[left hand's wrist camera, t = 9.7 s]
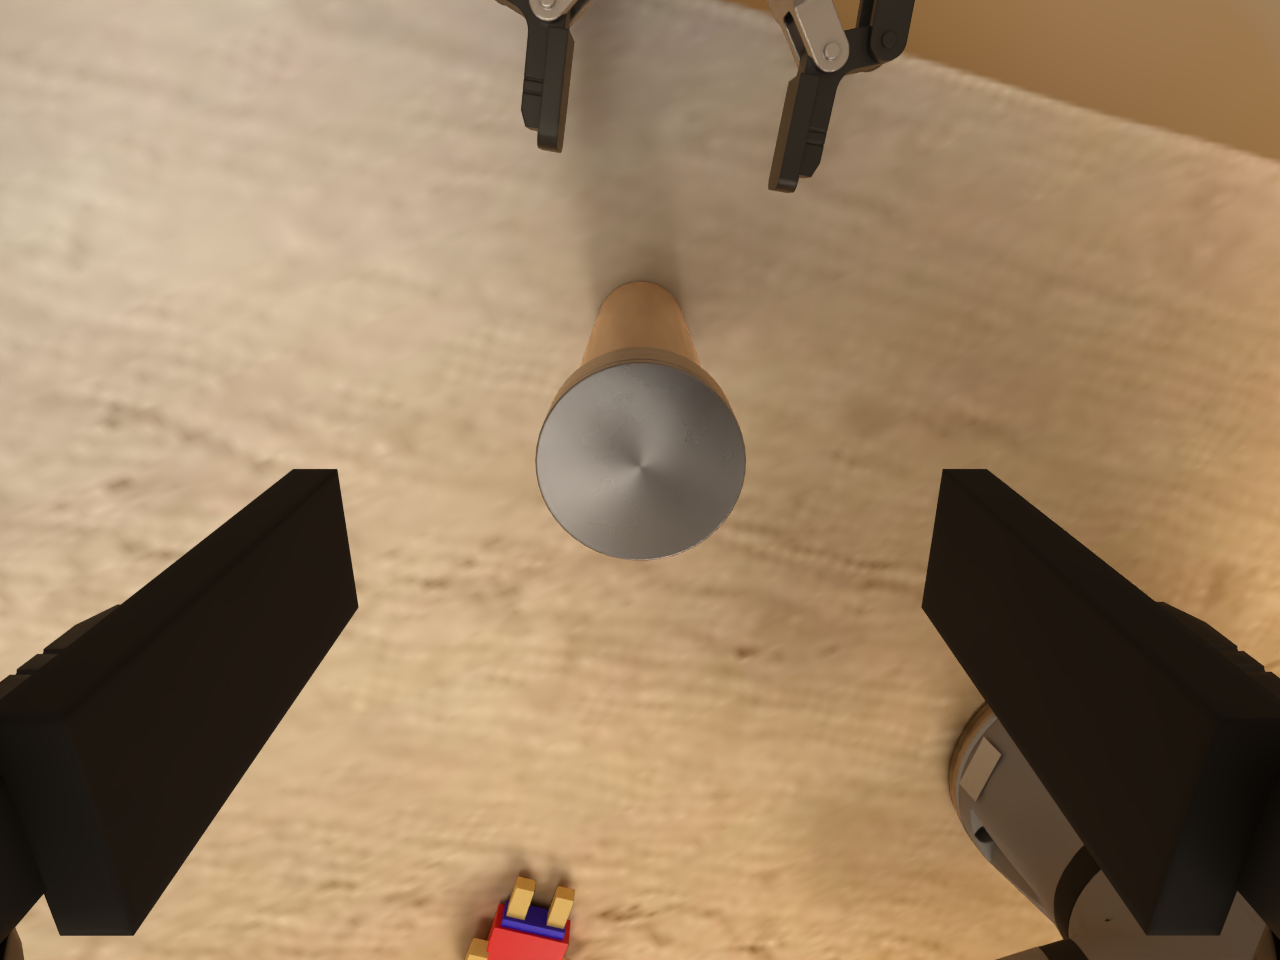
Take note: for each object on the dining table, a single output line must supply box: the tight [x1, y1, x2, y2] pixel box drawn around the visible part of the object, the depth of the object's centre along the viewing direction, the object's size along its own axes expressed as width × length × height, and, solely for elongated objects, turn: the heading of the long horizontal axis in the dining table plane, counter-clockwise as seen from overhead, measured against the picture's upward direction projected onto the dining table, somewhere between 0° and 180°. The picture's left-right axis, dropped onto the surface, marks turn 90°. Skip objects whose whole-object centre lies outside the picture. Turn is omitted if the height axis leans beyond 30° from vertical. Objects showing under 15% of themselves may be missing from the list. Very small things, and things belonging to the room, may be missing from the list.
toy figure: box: [464, 876, 575, 960], centre depth 48 cm, size 2×7×12 cm
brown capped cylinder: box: [579, 281, 702, 368], centre depth 26 cm, size 4×4×19 cm
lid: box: [535, 347, 746, 560], centre depth 18 cm, size 5×5×2 cm
